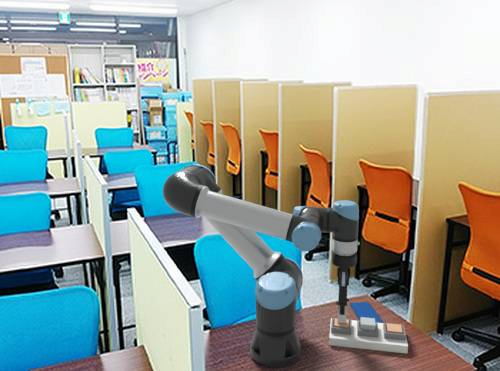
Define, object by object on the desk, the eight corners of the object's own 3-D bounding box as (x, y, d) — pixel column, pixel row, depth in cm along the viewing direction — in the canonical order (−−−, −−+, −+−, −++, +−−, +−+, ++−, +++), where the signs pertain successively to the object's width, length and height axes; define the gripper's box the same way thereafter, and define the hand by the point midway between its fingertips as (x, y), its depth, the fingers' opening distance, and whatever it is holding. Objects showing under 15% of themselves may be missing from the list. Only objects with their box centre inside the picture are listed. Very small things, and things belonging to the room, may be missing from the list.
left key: (334, 331, 145) (334, 325, 145) (334, 323, 150) (334, 318, 149) (348, 332, 145) (348, 326, 144) (348, 325, 149) (348, 319, 148)
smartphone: (368, 301, 169) (384, 322, 154) (368, 304, 169) (383, 324, 154) (348, 302, 168) (362, 323, 154) (348, 305, 168) (362, 326, 154)
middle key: (360, 330, 144) (360, 324, 143) (360, 322, 148) (360, 317, 147) (375, 331, 143) (375, 325, 142) (374, 324, 147) (374, 318, 146)
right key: (387, 336, 142) (387, 330, 142) (386, 329, 146) (386, 323, 146) (402, 338, 141) (402, 332, 141) (400, 330, 146) (401, 324, 145)
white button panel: (328, 345, 143) (329, 332, 142) (330, 324, 154) (331, 313, 153) (407, 353, 138) (408, 340, 137) (403, 332, 149) (404, 320, 148)
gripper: (357, 260, 134) (354, 334, 140) (356, 244, 146) (353, 312, 152) (331, 258, 136) (328, 331, 141) (332, 243, 148) (330, 310, 154)
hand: (341, 321), depth 147 cm, fingers closed
